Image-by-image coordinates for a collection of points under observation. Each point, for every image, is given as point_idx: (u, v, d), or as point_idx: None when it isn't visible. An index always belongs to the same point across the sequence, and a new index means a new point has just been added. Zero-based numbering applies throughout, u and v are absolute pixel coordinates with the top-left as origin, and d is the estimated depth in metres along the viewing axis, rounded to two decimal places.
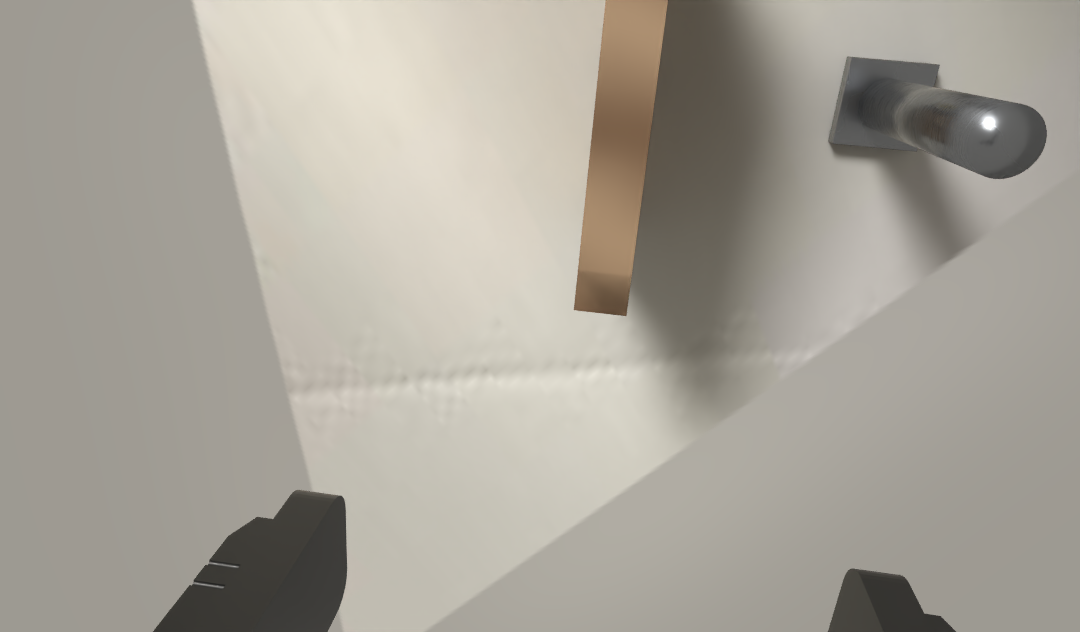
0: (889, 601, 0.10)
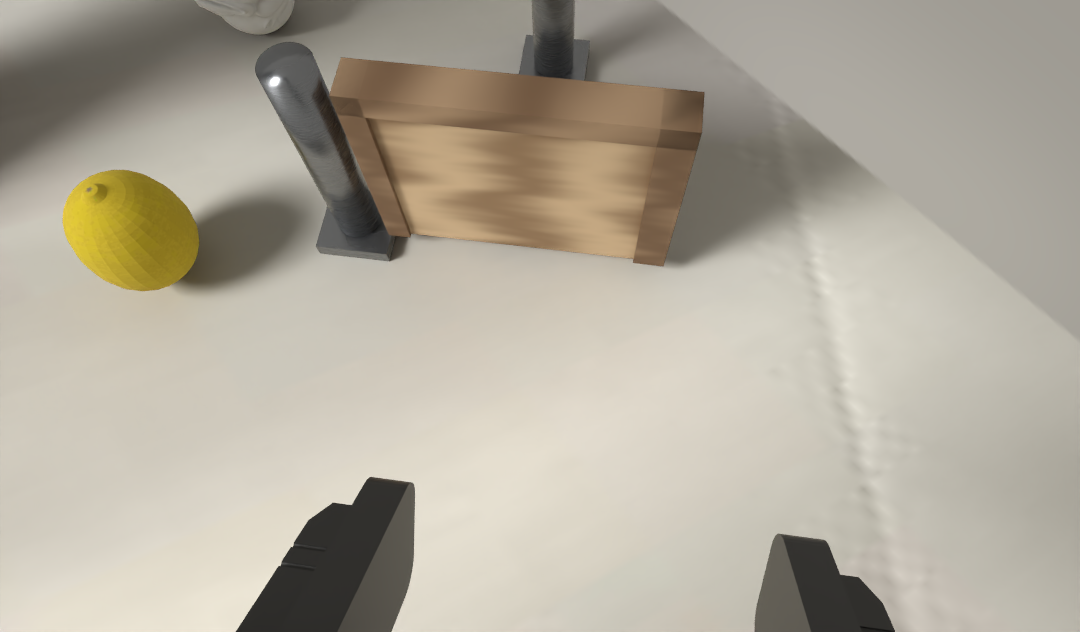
0: (808, 562, 0.11)
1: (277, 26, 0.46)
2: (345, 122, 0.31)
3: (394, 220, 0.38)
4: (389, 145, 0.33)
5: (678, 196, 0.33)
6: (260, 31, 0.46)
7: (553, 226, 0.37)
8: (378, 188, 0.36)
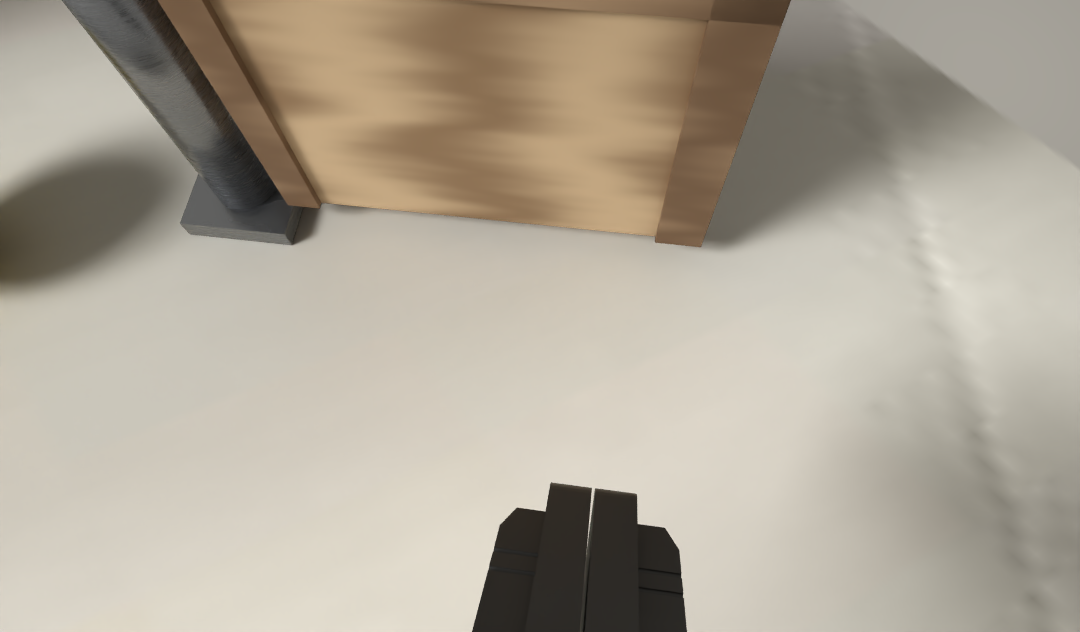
0: (610, 512, 0.11)
1: None
2: None
3: (289, 180, 0.25)
4: (249, 40, 0.19)
5: (738, 122, 0.19)
6: None
7: (532, 184, 0.24)
8: (251, 124, 0.22)
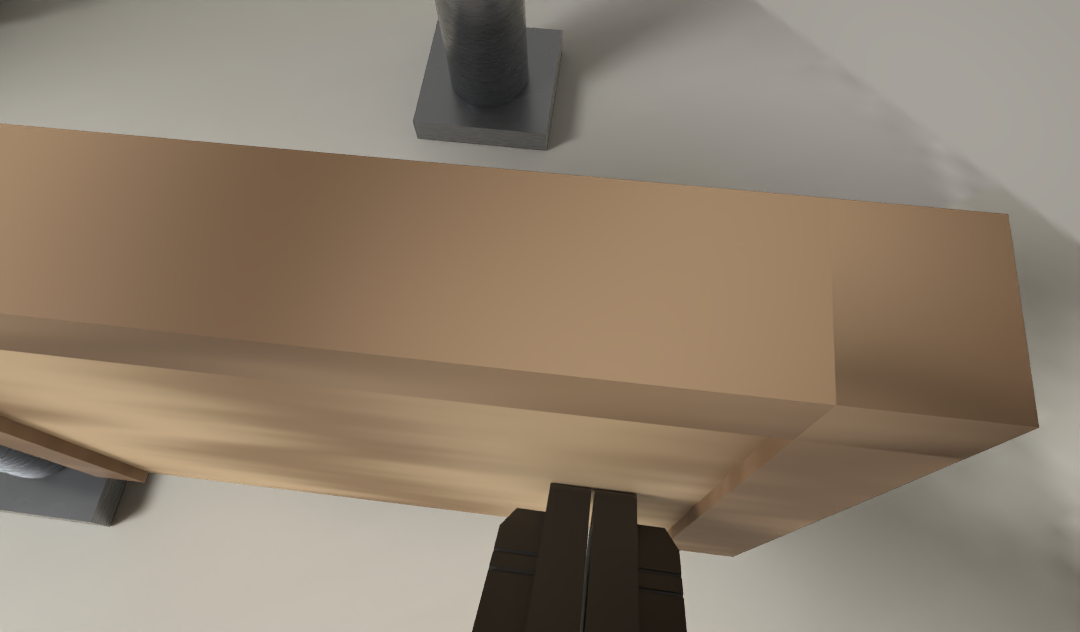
0: (611, 512, 0.11)
1: None
2: None
3: (79, 464, 0.16)
4: None
5: (824, 509, 0.10)
6: None
7: (461, 494, 0.15)
8: None
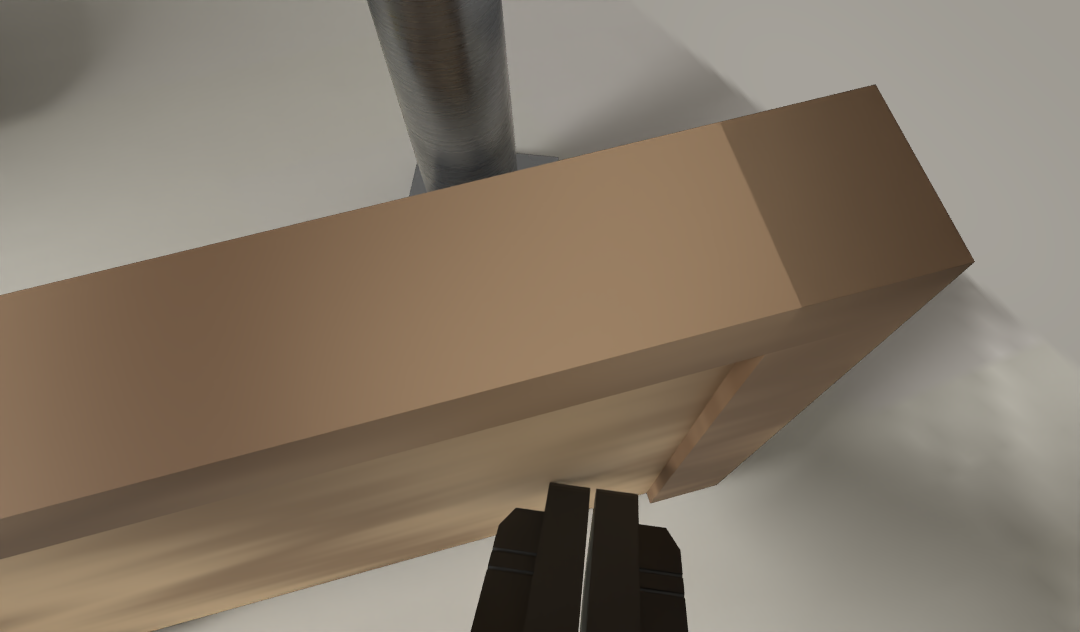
0: (612, 512, 0.11)
1: None
2: None
3: None
4: None
5: (795, 408, 0.11)
6: None
7: (449, 531, 0.14)
8: None
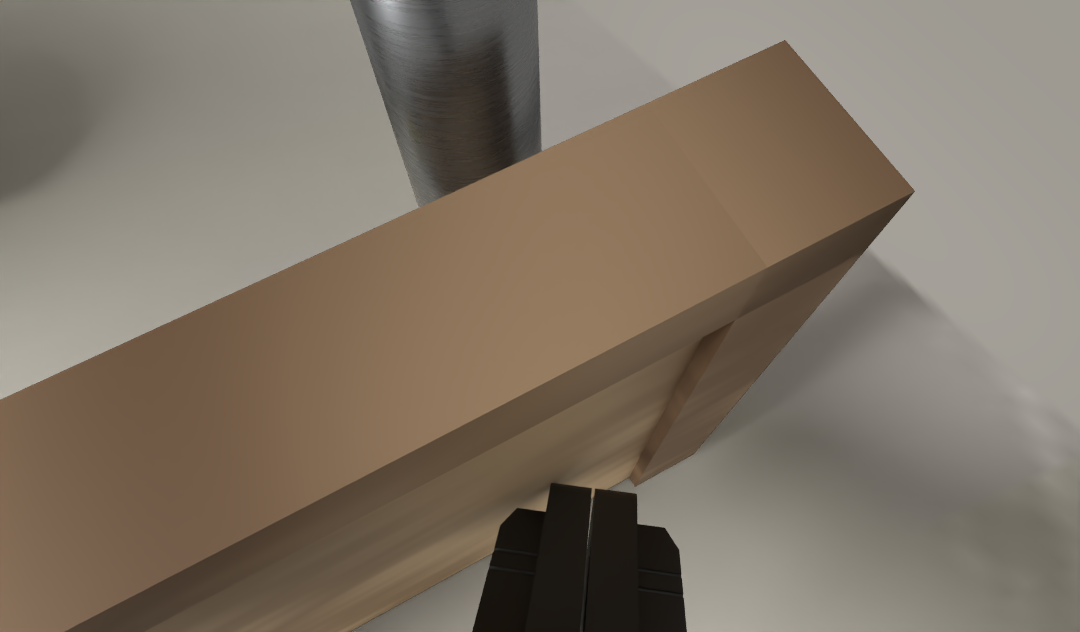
0: (610, 512, 0.11)
1: None
2: None
3: None
4: None
5: (762, 364, 0.11)
6: None
7: (446, 561, 0.14)
8: None
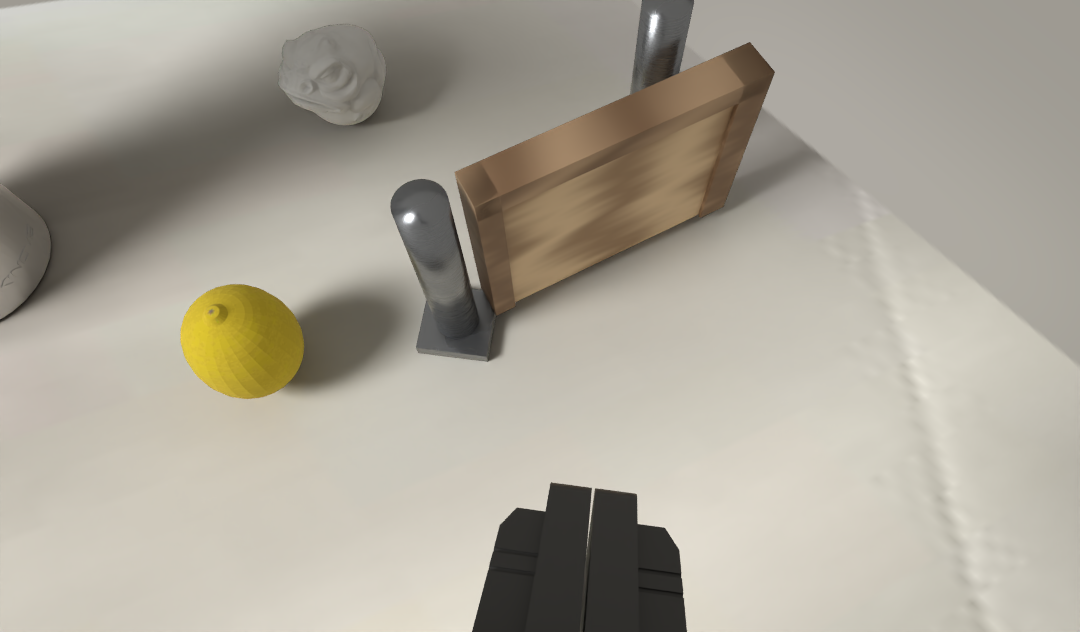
0: (610, 512, 0.11)
1: (366, 118, 0.47)
2: (483, 225, 0.32)
3: (505, 297, 0.40)
4: (513, 226, 0.34)
5: (747, 137, 0.37)
6: (350, 123, 0.46)
7: (639, 222, 0.40)
8: (498, 274, 0.37)
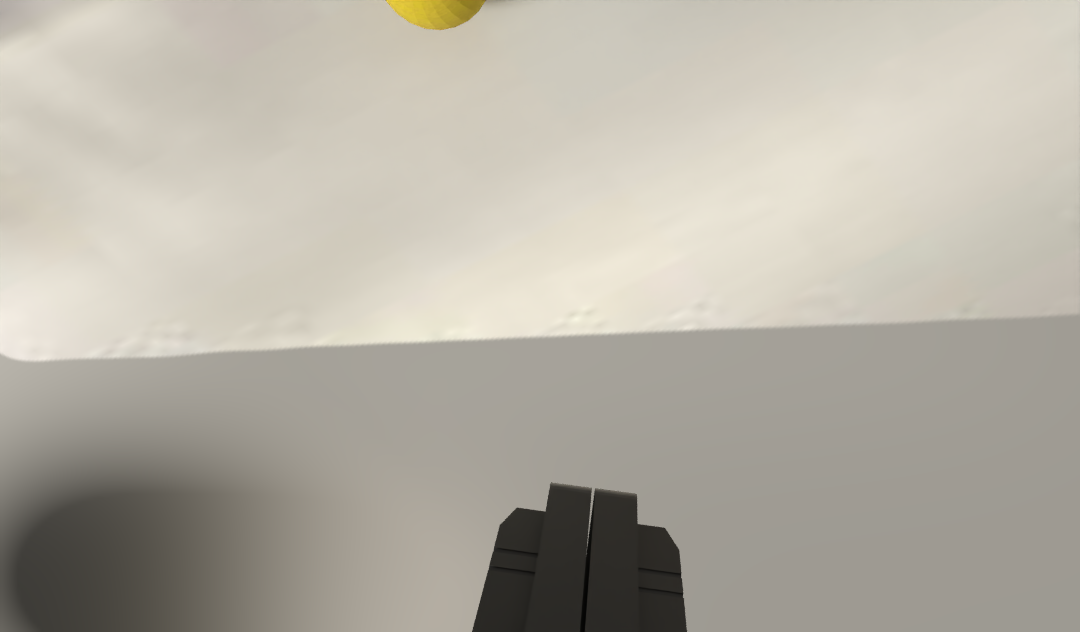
0: (611, 512, 0.11)
1: None
2: None
3: None
4: None
5: None
6: None
7: None
8: None
